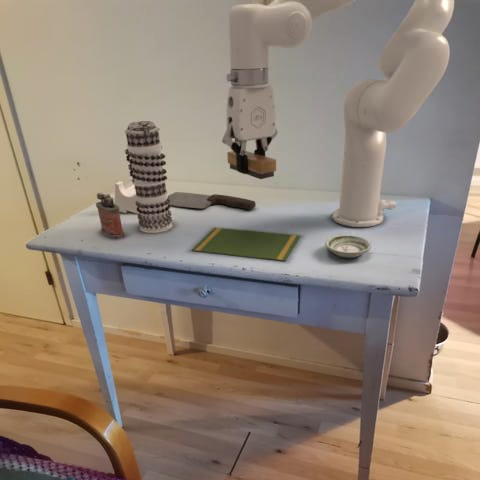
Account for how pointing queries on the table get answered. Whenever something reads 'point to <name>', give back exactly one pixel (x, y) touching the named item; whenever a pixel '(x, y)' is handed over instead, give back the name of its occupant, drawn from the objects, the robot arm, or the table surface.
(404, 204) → the table surface
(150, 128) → the decorative candle
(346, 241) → the saucer
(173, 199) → the cleaver
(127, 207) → the bracket
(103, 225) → the lighter
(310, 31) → the robot arm
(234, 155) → the chalkboard eraser
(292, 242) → the cloth
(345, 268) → the table surface
